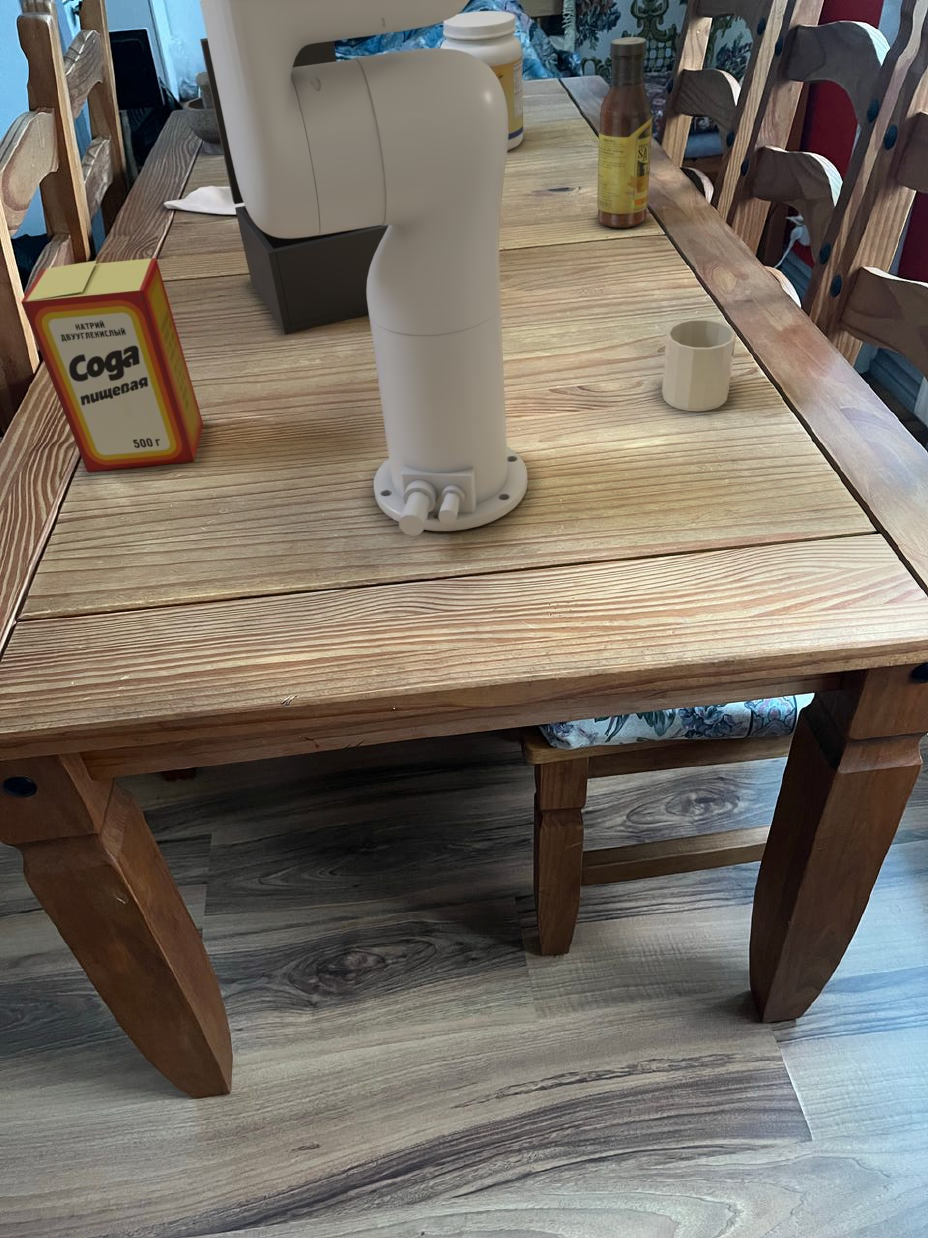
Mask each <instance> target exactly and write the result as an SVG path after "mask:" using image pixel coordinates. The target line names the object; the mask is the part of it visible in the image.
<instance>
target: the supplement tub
mask: <svg viewBox="0 0 928 1238" xmlns="http://www.w3.org/2000/svg"><path fill="white" fill-rule="evenodd" d="M442 23H443V31H442V35H443V37H444V38H445V40H443V41H442V43H441V45H440V47H439V48H442V49H454V50H459V51H463V52H466V53H469V54H471V55H473V56H475V57H477V58H479V59H481V60H482V61H483V62H484V63H485V64H487V65H488V66H489V67H490V68H491V69H492V71H493V72H494V73H495V75H496V76H497V78H498V80H499V82H500V84H501V86H502V89H503V92H504V95H505V99H506V104H507V110H508V131H509V133H508V149H507V152H508V151H510V150H512V149H514V148H516V147H518V146H519V145H520V144H521V143H522V140H523V139H524V131H525V130H524V105H523V103H524V101H523V100H524V99H523V49H522V48H523V46H522V43H521V41H520V39H519V38H518V36H516V35H514V34H515V32H516V31H517V25H516V17H515V14H513V13H512V12H507V11H499V10H481V11H469V12H462V13H458V14H457V15H455V16H454V17H452V18H450V19H448V20H445V21H443V22H442Z"/></svg>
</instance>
